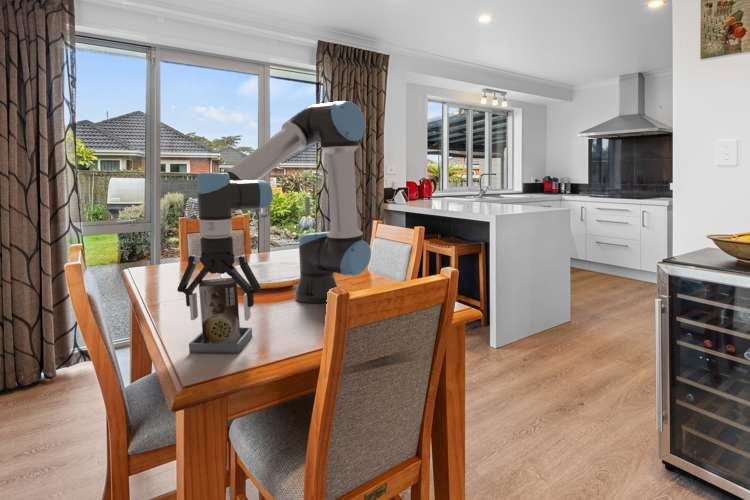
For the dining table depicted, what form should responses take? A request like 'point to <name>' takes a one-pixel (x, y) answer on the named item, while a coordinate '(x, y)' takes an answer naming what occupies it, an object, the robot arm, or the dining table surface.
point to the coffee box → (219, 310)
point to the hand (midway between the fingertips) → (221, 318)
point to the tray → (220, 344)
